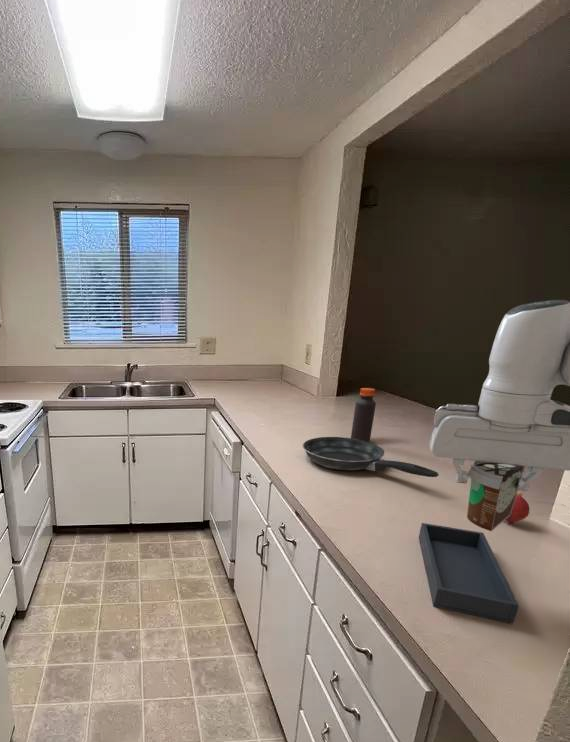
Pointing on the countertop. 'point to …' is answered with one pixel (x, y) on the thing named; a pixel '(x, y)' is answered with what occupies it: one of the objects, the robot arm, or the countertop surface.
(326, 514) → the countertop surface
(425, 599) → the countertop surface
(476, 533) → the dark blue tray
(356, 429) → the bottle
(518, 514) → the onion
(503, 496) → the food container
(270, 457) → the countertop surface
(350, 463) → the frying pan
